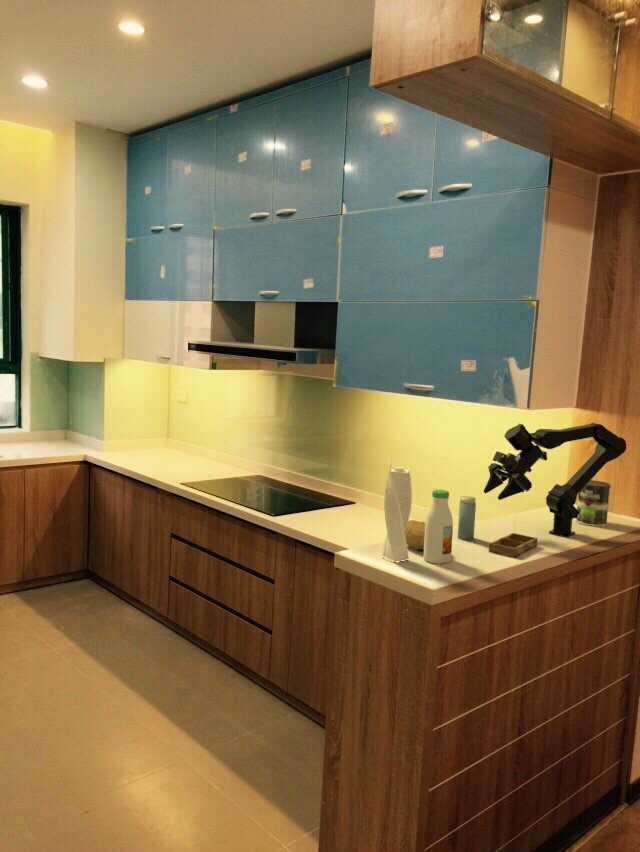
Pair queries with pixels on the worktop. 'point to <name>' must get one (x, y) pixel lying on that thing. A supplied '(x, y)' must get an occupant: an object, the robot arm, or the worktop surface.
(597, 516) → the coffee can
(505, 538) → the caddy
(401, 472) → the skyscraper
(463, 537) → the salt shaker
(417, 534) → the potato
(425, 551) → the milk bottle
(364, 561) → the worktop surface
